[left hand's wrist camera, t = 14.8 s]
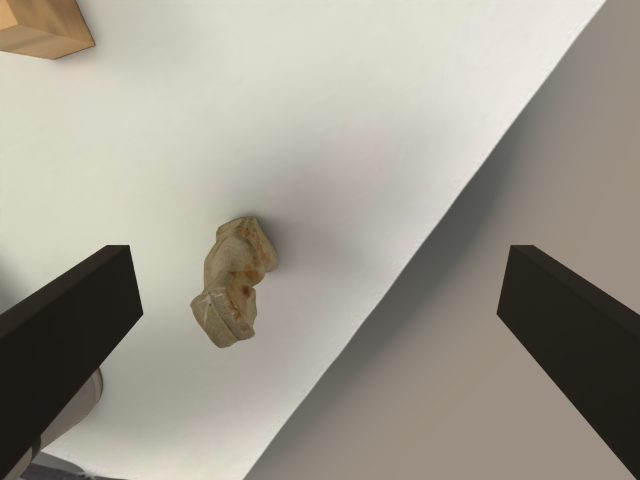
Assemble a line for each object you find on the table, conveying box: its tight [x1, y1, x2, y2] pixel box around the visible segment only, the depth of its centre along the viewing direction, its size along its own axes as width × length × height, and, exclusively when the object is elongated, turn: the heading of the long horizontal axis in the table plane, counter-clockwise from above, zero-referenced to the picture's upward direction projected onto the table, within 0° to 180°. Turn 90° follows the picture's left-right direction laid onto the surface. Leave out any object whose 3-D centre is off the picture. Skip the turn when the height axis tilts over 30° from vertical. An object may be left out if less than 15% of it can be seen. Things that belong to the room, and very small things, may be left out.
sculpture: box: [190, 216, 278, 348], centre depth 33 cm, size 6×7×15 cm
